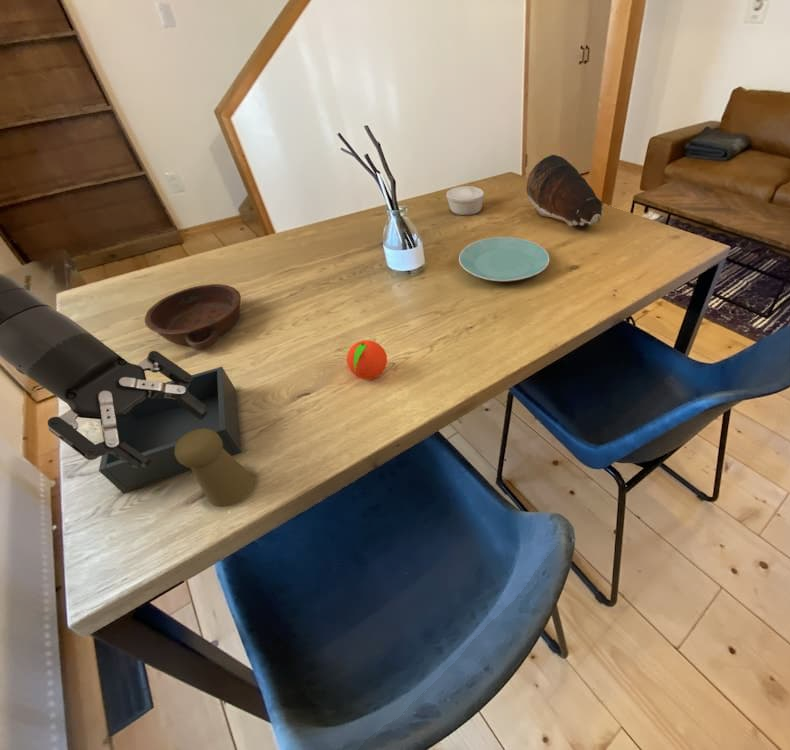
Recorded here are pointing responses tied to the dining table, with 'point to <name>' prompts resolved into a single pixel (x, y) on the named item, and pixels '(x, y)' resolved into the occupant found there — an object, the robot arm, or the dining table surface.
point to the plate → (504, 259)
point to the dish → (195, 315)
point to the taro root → (562, 192)
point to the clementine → (366, 359)
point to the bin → (173, 430)
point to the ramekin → (465, 200)
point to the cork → (213, 467)
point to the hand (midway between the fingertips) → (177, 439)
